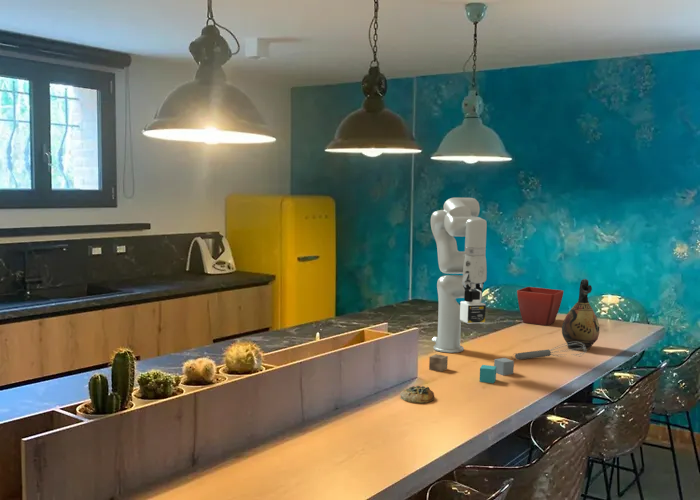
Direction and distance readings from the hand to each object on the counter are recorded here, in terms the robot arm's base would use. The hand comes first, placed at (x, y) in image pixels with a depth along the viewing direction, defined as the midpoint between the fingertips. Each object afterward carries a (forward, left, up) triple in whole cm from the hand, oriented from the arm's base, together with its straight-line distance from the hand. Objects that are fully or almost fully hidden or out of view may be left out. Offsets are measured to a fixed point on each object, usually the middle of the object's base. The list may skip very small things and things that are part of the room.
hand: (473, 299), depth 254 cm
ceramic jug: (+3, +69, -27) cm, 74 cm away
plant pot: (-41, +103, -27) cm, 114 cm away
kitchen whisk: (+6, +43, -27) cm, 51 cm away
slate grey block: (+9, +8, -27) cm, 29 cm away
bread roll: (+12, -40, -27) cm, 50 cm away
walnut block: (-9, -8, -27) cm, 30 cm away
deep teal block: (+12, -5, -27) cm, 30 cm away
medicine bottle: (0, 0, -8) cm, 8 cm away
